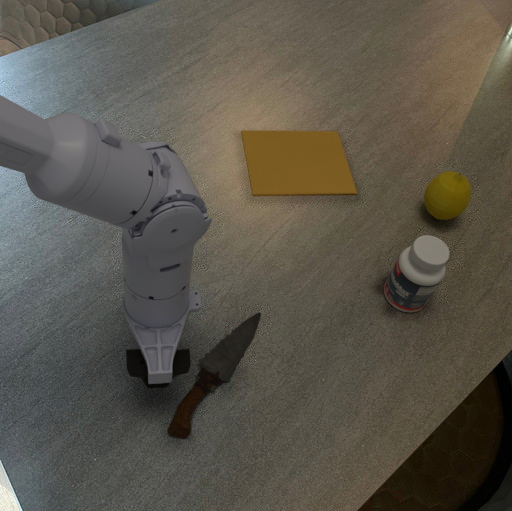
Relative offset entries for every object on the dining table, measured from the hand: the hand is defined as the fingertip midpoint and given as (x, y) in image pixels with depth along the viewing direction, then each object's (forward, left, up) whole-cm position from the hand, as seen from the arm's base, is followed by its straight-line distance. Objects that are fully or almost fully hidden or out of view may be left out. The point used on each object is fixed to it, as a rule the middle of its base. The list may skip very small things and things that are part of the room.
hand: (155, 350), depth 64 cm
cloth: (+20, +28, -1) cm, 35 cm away
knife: (+6, -2, -1) cm, 7 cm away
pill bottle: (+29, +6, -1) cm, 30 cm away
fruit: (+37, +18, -1) cm, 41 cm away
